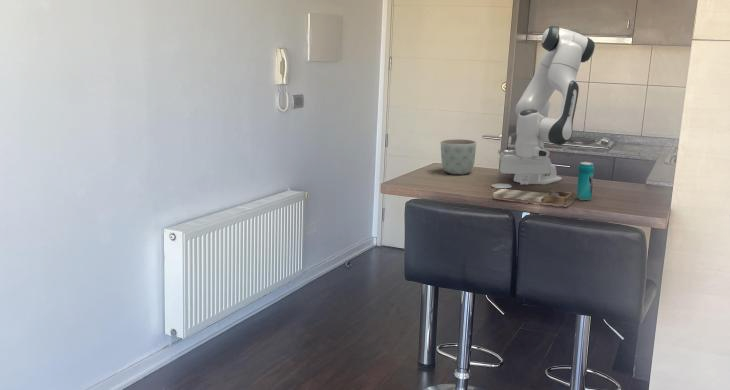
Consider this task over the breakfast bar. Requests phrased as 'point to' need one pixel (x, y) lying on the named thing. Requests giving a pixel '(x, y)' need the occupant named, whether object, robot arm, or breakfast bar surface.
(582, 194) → the beverage can
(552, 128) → the robot arm
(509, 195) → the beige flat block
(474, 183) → the breakfast bar surface
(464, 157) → the planter
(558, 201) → the brown square tray
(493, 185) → the coaster
